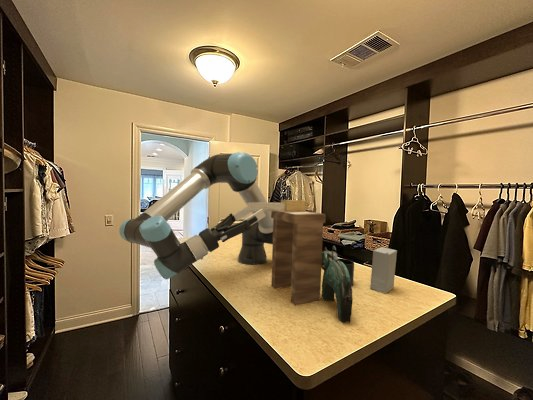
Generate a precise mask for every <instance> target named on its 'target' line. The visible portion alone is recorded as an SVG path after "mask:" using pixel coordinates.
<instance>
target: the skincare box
mask: <svg viewBox="0 0 533 400" xmlns="http://www.w3.org/2000/svg"><path fill="white" fill-rule="evenodd" d="M397 254H398V250H396V249H392V248H389V247H384V246H382V247H379V248H376V249H373V251H372V262H371V263H372V264H371V275H370V290H373V291H377V292H379V293H383V294H388V293H389V292H390V291H391V290H393V289H394V288H395V287H394V286H395V273H396V264H397Z"/></svg>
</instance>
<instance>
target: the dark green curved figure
mask: <svg viewBox="0 0 533 400" xmlns="http://www.w3.org/2000/svg"><path fill="white" fill-rule="evenodd" d="M334 250H335V251H334ZM338 258H339V257H338V253H337V247H336V246H335V245H332V250H331V251H330V250H328V249H327V247H324V249H323V251H322V264H321V270H322V271H323V274H322V280H321V298H322V300H323V301H326V302H333V301H336V302H335V303H336V314H337V319H338V321H340V323H351V319H352V318H351V317H352V311H353V310H352V309H353V303H354V302H353V299H354V298H353V285H351V280H350V275H349V270H347V267H346V266H345V264H344V263H343V262H341V261H340V260H338Z"/></svg>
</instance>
